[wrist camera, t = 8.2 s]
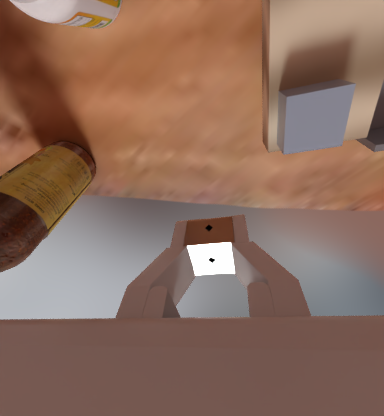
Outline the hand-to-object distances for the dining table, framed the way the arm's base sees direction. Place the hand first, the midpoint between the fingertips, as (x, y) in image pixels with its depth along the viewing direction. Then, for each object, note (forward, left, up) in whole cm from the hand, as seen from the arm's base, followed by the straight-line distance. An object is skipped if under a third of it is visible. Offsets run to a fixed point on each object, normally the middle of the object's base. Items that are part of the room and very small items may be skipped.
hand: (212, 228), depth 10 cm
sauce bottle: (+2, -18, -16) cm, 24 cm away
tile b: (0, +8, -13) cm, 15 cm away
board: (-3, +9, -16) cm, 19 cm away
